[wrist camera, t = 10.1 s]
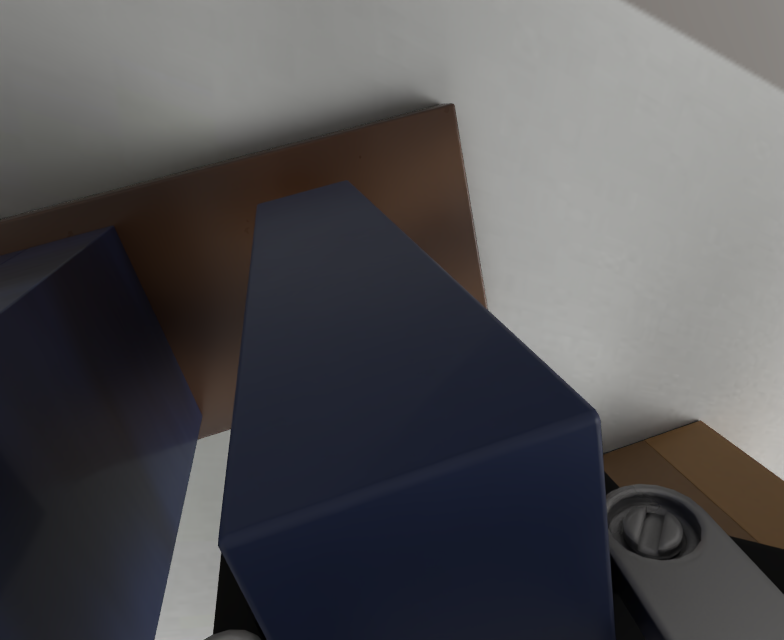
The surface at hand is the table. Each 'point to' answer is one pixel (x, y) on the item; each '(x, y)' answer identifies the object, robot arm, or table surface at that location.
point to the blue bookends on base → (161, 355)
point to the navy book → (402, 449)
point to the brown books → (707, 479)
